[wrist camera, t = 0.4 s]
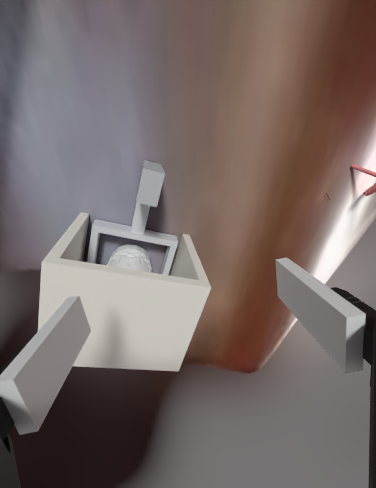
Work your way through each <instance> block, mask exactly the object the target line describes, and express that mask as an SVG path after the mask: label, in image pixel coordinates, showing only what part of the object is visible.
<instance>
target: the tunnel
mask: <svg viewBox="0 0 376 488" xmlns="http://www.w3.org/2000/svg"><path fill="white" fill-rule="evenodd" d="M88 221H89V214H87V213H82V212H81V213H80V214H79V216H78V217H77V218H76V219H75V221H74V222H73V223H72V224H71V226H70V227H69V228H68V229H67V231H66V232H65V233H64V234H63V236H62V237H61V238H60V239H59V241H58V242H57V243H56V245H55V246H54V247H53V248H52V250H51V251H50V252H49V253H48V255H47V256H46V257H45V258H44V260H43V261H42V265H41V283H40V284H41V285H40V302H39V321H38V331H39V330H40V329H41V328H42V327H43V325H44V324H45V323H46V322H47V321H48V320H49V318H50V317H51V316H52V315H53V314H54V313H55V312H56V310H57V309H58V308H59V307H60V306H61V305H62V304H63V302H64V301H65V300H66V299H67V298H68V297H74V296H80V299H81V302H82V305H83V308H84V311H85V314H86V317H87V320H88V323H89V326H90V329H91V332H90V334H89V336H88V338H87V340H86V342H85V343H84V345H83V347H82V349H81V351H80V353H79V355H78V357H77V358H76V360H75V362H74V364H73V366H82V367H101V368H102V367H103V368H122V369H141V370H161V371H179V369H180V367H181V364H182V361H183V359H184V356H185V354H186V351H187V349H188V346H189V343H190V341H191V338H192V336H193V333H194V331H195V328H196V326H197V323H198V320H199V318H200V315H201V313H202V310H203V308H204V305H205V302H206V300H207V297H208V295H209V292H210V290H211V286H210V284H209V281H208V279H207V277H206V274H205V272H204V269H203V267H202V264H201V262H200V260H199V257H198V255H197V252H196V250H195V248H194V245H193V243H192V240H191V238H190V236H189V235H187V234H182V237H181V241H180V244H179V247H178V251H177V254H176V257H175V261H174V264H173V267H172V271H171V274H170V276H169V275H163V274H157V273H150V272H144V271H138V270H132V269H125V268H119V267H113V266H107V265H100V264H94V263H88V262H83V259H84V252H85V244H86V237H87V229H88Z"/></svg>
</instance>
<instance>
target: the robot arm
mask: <svg viewBox="0 0 376 488" xmlns="http://www.w3.org/2000/svg"><path fill="white" fill-rule="evenodd" d="M276 274H277V289H278V297H279V298H280V299H281V300H282V302H283V303H284V304H285V305H286V306H287V307H288V308H289V310H290V311H291V312H292V313H293V314H294V315H295V317H296V318H297V319H298V320H299V321H300V322H301V323H302V324H303V326H304V327H305V328H306V329H307V330H308V331H309V332H310V334H311V335H312V336H313V337H314V338H315V339H316V341H317V342H318V343H319V344H320V345H321V346H322V347H323V349H324V350H325V351H326V352H327V353H328V354H329V355H330V356H331V358H332V359H333V360H334V361H335V362H336V363H337V365H338V366H339V367H340V368H341V369H342V370H343V371H344V373H349V372H354V371H360V370H363V358H364V359H365V360H366V361H367V362H368V363H369V364H370V365H371V378H370V387H371V392H370V393H371V394H370V442H369V488H376V310H374V309H373V308H371V307H369V306H368V305H367V304H365V303H364V302H361V301H360V300H359V299H358V298H356V297H354V296H353V295H352V294H350V293H349V292H347V291H345V290H342V289H339V288H329V287H327V286H326V285H324V284H323V283H322V282H320V281H319V280H317V279H316V278H315V277H313V276H312V275H310V274H309V273H308V272H306V271H305V270H303V269H302V268H301V267H299V266H298V265H296V264H295V263H294V262H292V261H291V260H289V259H288V258H282V259H277V260H276ZM90 332H91V329H90V326H89V323H88V320H87V317H86V314H85V311H84V308H83V305H82V302H81V299H80V296H74V297H68V298H67V299H66V300H65V301H64V302H63V304H62V305H61V306H60V307H59V308H58V309H57V310H56V312H55V313H54V314H53V315H52V316H51V317H50V318H49V320H48V321H47V322H46V323H45V324H44V325H43V327H42V328H41V329H40V330H39V331H38V332H37V333H36V335H35V336H34V337H33V338H32V339H31V340H30V341H29V343H28V344H27V345H24V346H23V347H22V348H21V349H19V350H18V351H17V352H15V353H14V354H13V355H12V356H11V357H10V359H9V360H8V361H7V363H5V364H4V365H3V367H2V368H1V370H0V488H21V487H20V482H19V477H18V472H17V467H16V461H15V457H14V452H13V446H12V441H11V439H10V437H9V435H8V433H9V432H10V430H11V428H12V427H13V425H15V427H16V428H17V430H18V432H19V434H20V435H21V434H26V433H31V432H36V431H38V430H39V428H40V426H41V424H42V423H43V421H44V419H45V417H46V415H47V413H48V411H49V409H50V407H51V406H52V404H53V402H54V400H55V398H56V396H57V394H58V392H59V391H60V389H61V387H62V385H63V383H64V381H65V379H66V377H67V375H68V374H69V372H70V370H71V368H72V366H73V364H74V362H75V360H76V358H77V357H78V355H79V353H80V351H81V349H82V347H83V345H84V343H85V342H86V340H87V338H88V336H89V334H90Z"/></svg>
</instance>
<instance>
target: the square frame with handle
mask: <svg viewBox="0 0 376 488" xmlns="http://www.w3.org/2000/svg"><path fill="white" fill-rule="evenodd" d="M164 176H165V173H164V171H163V168H162V166H161V164H158V163H155V162H151V161H148V160H143V165H142V170H141V175H140V180H139V185H138V191H137V198H136V207H135V212H134V217H133V222H132V227H131V226H126V225H122V224H117V223H112V222H107V221H102V220H97V219H95V221H94V223H93V224H92V230H91V237H90V244H89V252H88V259H87V262H88V263H94V264H96V258H97V251H98V245H99V238H100V233H104V234H109V235H114V236H119V237H124V238H129V239H135V240H140V241H145V242H150V243H155V244H160V245H166V246H167V250H166V253H165V257H164V260H163V264H162V267H161V271H160V274H163V275H169V271H170V268H171V265H172V261H173V258H174V255H175V251H176V248H177V245H178V240H177V236H175V235H170V234H165V233H160V232H155V231H151V230H146V229H145V227H146V223H147V218H148V214H149V210H150V206H153V207H157V205H158V201H159V197H160V192H161V188H162V184H163V180H164Z"/></svg>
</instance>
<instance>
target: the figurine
mask: <svg viewBox="0 0 376 488" xmlns="http://www.w3.org/2000/svg"><path fill="white" fill-rule="evenodd" d="M351 168H354V169H356V170H359V171H361V172H364V173H366V174H369V175H372V176H374V177H376V173H375V172H372V171H369V170H367V169H364V168H362V167H359V166H356V165H354V164H353V165H352V166H351ZM374 192H376V183H375V184H374V185H373V186H372V187H370V188H369V189H368V190H366V191H365V192H364V195H365V196H368V195H371V194H373V193H374ZM326 195H327V194H326ZM328 198H329V197H328ZM329 200H330V199H329Z"/></svg>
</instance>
